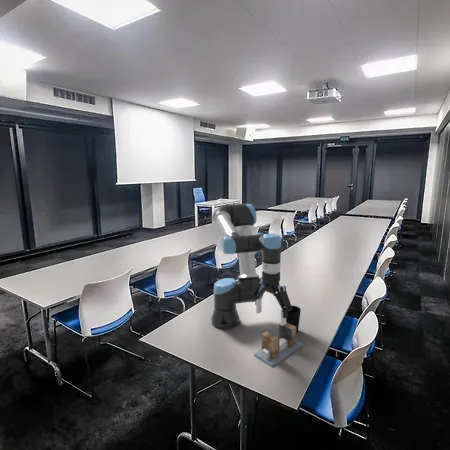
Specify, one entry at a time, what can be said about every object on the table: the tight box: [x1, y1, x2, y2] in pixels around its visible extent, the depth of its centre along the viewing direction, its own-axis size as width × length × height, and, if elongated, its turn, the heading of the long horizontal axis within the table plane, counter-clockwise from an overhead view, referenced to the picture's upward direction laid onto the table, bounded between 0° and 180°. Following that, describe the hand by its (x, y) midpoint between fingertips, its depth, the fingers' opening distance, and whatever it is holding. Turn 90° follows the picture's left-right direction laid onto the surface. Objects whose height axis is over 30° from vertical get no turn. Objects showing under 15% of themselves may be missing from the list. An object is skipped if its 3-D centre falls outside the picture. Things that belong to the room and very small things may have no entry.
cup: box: [286, 305, 302, 334], centre depth 147 cm, size 8×8×12 cm
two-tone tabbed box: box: [261, 330, 279, 359], centre depth 128 cm, size 7×4×9 cm, turn 41°
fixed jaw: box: [278, 322, 297, 348], centre depth 135 cm, size 7×4×9 cm, turn 41°
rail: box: [254, 338, 304, 367], centre depth 132 cm, size 10×22×4 cm, turn 131°
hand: (270, 318), depth 126 cm, fingers open, 13 cm apart
